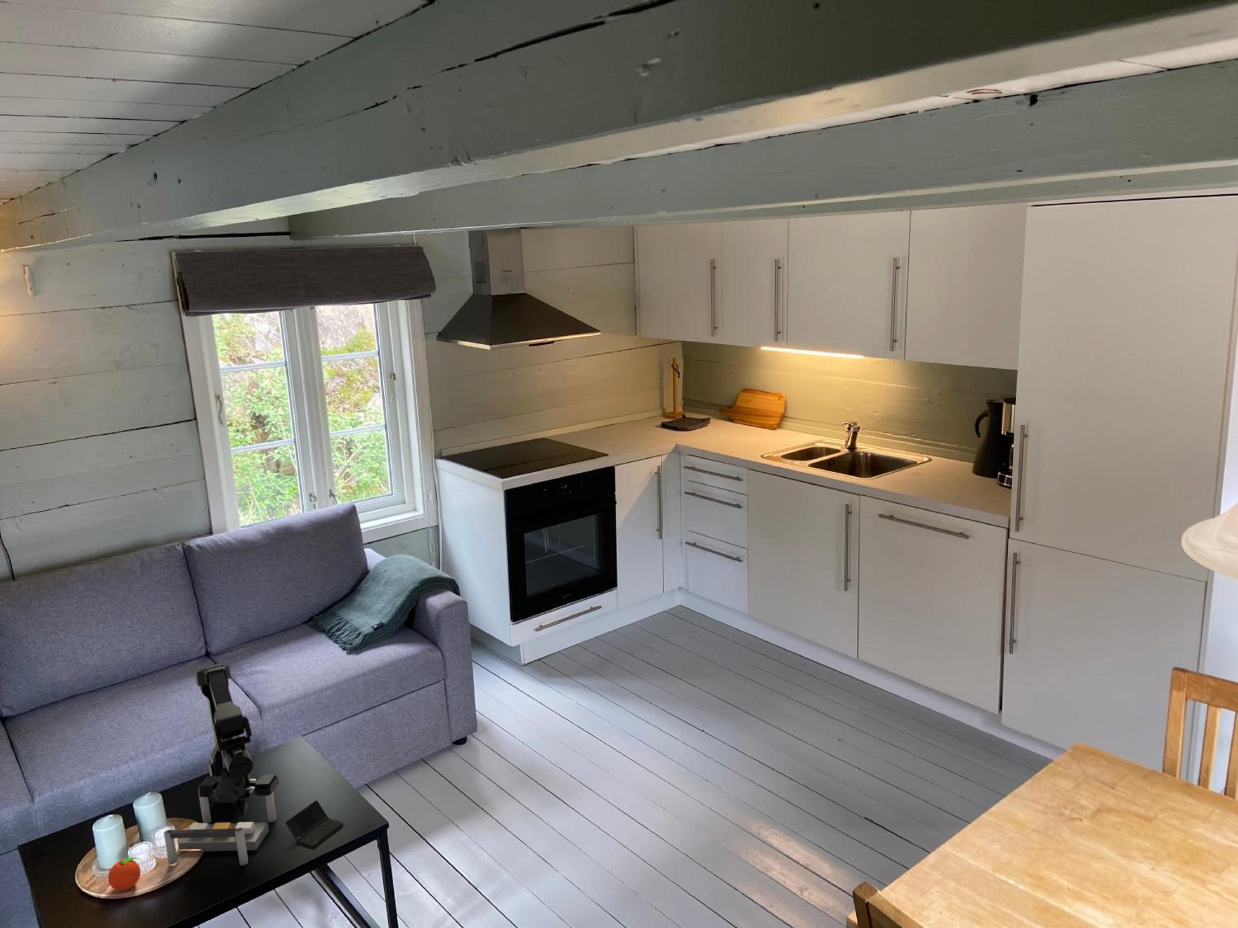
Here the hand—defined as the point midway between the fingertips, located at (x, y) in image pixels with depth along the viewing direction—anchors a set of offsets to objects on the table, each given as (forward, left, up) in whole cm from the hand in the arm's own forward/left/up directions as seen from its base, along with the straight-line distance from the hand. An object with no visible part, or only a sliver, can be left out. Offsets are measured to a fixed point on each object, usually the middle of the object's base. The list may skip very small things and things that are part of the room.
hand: (243, 814), depth 235 cm
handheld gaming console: (-3, +17, -8) cm, 19 cm away
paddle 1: (0, -12, -4) cm, 13 cm away
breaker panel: (0, -6, -8) cm, 9 cm away
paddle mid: (0, -6, -4) cm, 7 cm away
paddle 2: (0, 0, -4) cm, 5 cm away
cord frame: (0, -6, -8) cm, 9 cm away
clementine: (+17, -22, -8) cm, 29 cm away
